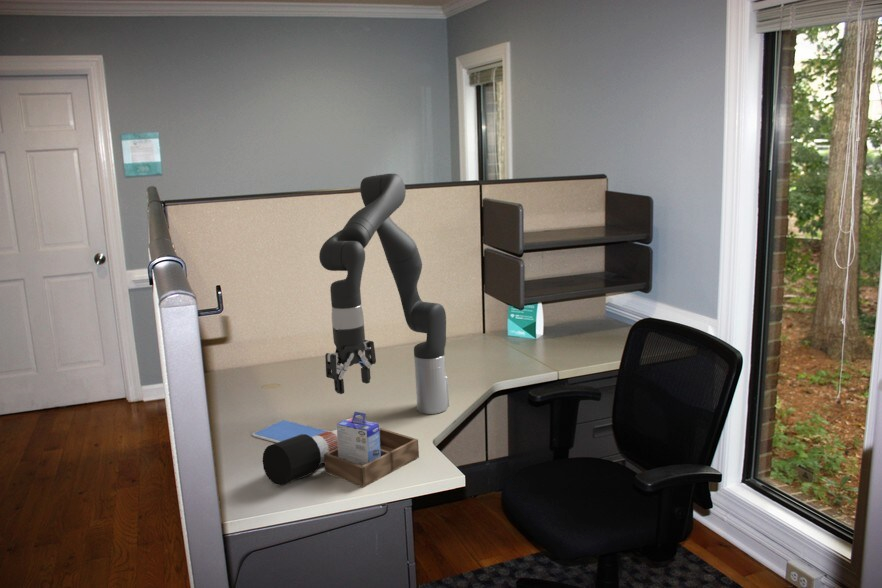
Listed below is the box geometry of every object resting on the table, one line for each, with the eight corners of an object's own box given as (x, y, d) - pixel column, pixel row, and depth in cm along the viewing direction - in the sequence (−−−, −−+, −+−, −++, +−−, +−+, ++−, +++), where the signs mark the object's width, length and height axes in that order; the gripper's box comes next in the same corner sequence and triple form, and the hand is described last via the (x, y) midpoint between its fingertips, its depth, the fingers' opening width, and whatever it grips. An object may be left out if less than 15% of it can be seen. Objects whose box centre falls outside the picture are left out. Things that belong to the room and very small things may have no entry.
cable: (373, 455, 202) (386, 427, 198) (283, 493, 175) (296, 462, 171) (350, 433, 207) (362, 405, 203) (257, 467, 179) (269, 436, 176)
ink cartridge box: (383, 468, 182) (379, 414, 179) (370, 477, 178) (366, 422, 174) (352, 461, 187) (347, 408, 184) (338, 469, 183) (334, 415, 180)
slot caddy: (381, 445, 197) (380, 427, 196) (419, 457, 189) (418, 439, 188) (325, 472, 183) (324, 454, 182) (363, 487, 174) (362, 468, 173)
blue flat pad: (251, 437, 208) (250, 433, 208) (283, 422, 218) (283, 418, 218) (299, 451, 197) (298, 447, 197) (331, 435, 207) (330, 430, 207)
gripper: (358, 315, 181) (363, 377, 185) (314, 328, 171) (320, 393, 174) (380, 319, 177) (384, 382, 180) (336, 333, 166) (342, 399, 170)
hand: (353, 387), depth 177 cm, fingers open, 8 cm apart
